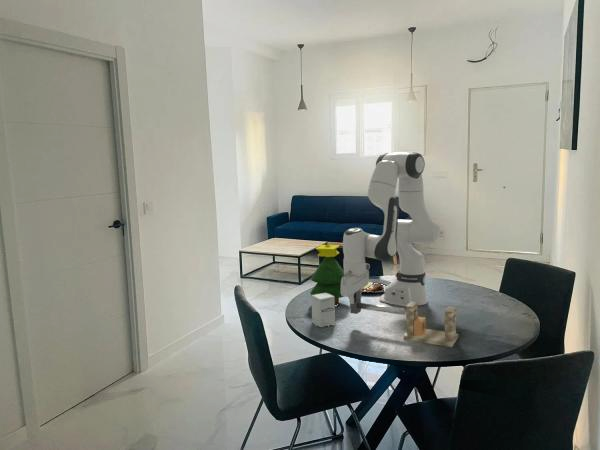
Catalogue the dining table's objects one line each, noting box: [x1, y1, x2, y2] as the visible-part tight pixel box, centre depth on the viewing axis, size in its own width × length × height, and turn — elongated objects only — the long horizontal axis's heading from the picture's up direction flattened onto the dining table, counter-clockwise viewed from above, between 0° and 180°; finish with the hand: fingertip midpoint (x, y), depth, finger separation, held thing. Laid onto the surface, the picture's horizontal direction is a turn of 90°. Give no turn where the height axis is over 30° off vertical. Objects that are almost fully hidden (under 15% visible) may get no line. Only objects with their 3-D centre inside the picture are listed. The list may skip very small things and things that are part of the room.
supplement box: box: [310, 293, 336, 328], centre depth 196 cm, size 7×7×13 cm
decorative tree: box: [310, 243, 345, 305], centre depth 220 cm, size 19×19×30 cm
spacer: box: [414, 316, 427, 336], centre depth 179 cm, size 3×5×5 cm, turn 149°
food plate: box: [362, 278, 393, 294], centre depth 245 cm, size 25×23×4 cm
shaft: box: [349, 289, 406, 316], centre depth 187 cm, size 22×4×10 cm, turn 59°
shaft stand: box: [403, 302, 459, 348], centre depth 177 cm, size 18×10×12 cm, turn 59°
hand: (355, 301), depth 192 cm, fingers open, 5 cm apart
